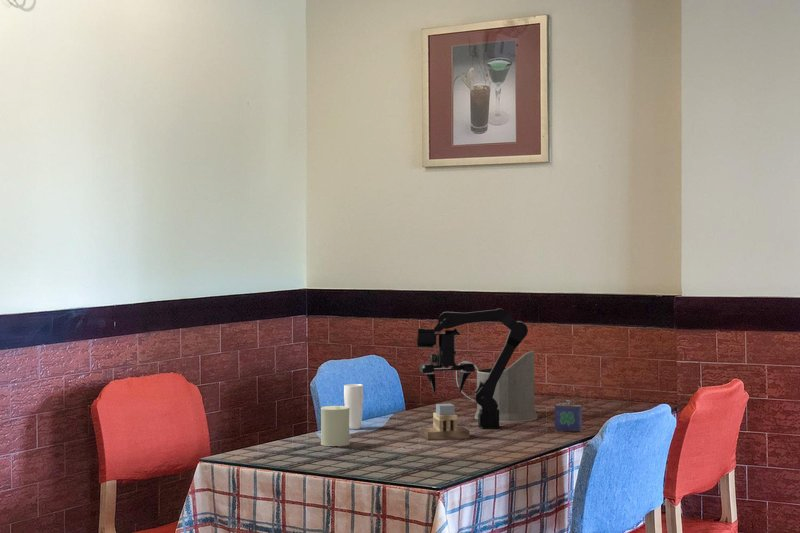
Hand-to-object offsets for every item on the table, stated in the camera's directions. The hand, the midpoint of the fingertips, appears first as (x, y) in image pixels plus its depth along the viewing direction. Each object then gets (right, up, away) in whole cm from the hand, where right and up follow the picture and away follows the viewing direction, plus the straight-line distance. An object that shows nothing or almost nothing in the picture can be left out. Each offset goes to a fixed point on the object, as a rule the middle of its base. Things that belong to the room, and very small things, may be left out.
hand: (447, 392), depth 345 cm
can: (-37, -12, -32) cm, 50 cm away
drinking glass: (-32, -12, -1) cm, 35 cm away
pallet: (-2, -9, -20) cm, 22 cm away
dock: (-2, -12, -20) cm, 23 cm away
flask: (+40, -12, -10) cm, 43 cm away
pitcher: (+19, -12, +25) cm, 34 cm away
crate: (-2, -4, -20) cm, 20 cm away
